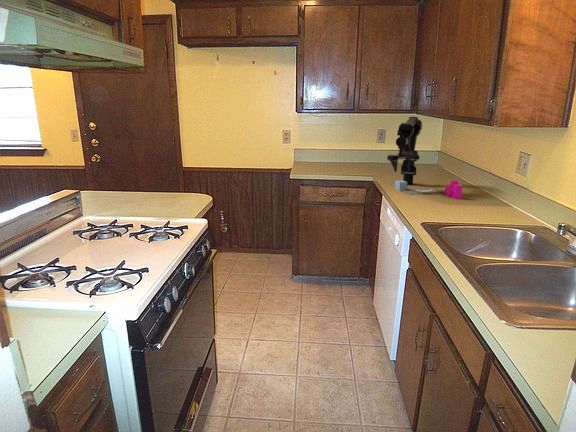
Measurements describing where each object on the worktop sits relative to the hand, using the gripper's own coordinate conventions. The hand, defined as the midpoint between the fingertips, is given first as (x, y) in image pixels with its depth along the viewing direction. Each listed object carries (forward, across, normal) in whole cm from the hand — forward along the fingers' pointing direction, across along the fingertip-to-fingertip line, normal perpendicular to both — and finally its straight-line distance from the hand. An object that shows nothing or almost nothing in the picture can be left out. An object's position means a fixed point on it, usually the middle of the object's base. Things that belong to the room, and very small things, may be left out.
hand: (402, 171), depth 234 cm
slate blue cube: (+11, 0, 0) cm, 11 cm away
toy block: (+11, +19, -22) cm, 32 cm away
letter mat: (+11, +8, -9) cm, 16 cm away
